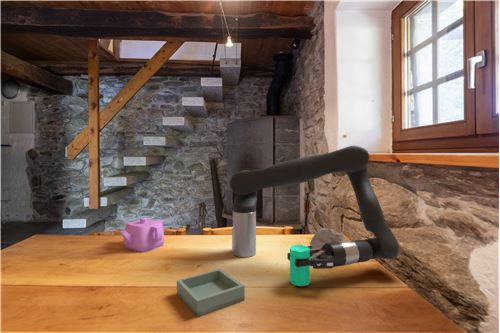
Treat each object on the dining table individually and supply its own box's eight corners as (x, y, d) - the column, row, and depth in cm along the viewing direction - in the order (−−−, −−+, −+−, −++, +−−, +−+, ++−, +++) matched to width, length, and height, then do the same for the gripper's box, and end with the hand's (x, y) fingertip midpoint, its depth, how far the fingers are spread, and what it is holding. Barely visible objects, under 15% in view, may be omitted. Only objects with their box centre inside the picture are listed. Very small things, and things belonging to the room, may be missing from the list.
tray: (177, 293, 82) (176, 280, 82) (219, 281, 90) (219, 268, 90) (197, 316, 70) (197, 301, 70) (244, 299, 78) (244, 285, 78)
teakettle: (163, 251, 117) (162, 221, 117) (118, 254, 113) (117, 224, 113) (165, 238, 134) (164, 212, 133) (126, 241, 130) (126, 214, 129)
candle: (289, 276, 91) (289, 239, 90) (309, 277, 90) (309, 240, 89) (289, 285, 85) (289, 245, 84) (310, 286, 84) (310, 246, 83)
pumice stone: (345, 248, 120) (345, 224, 120) (349, 254, 113) (349, 229, 112) (308, 246, 122) (308, 223, 122) (310, 253, 115) (310, 228, 114)
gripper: (327, 235, 98) (282, 240, 93) (354, 249, 84) (302, 255, 79) (327, 257, 98) (282, 263, 93) (354, 274, 84) (302, 282, 79)
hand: (291, 259), depth 86 cm, fingers closed on candle, 5 cm apart
